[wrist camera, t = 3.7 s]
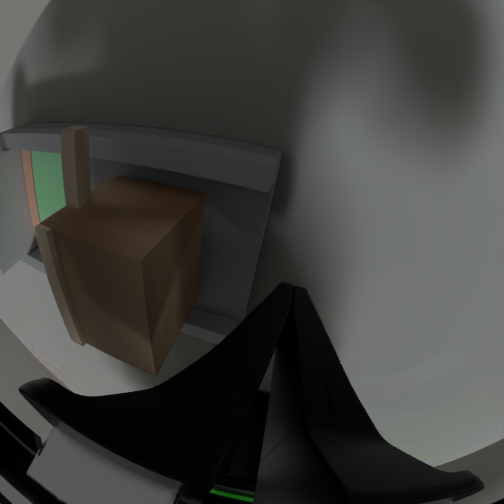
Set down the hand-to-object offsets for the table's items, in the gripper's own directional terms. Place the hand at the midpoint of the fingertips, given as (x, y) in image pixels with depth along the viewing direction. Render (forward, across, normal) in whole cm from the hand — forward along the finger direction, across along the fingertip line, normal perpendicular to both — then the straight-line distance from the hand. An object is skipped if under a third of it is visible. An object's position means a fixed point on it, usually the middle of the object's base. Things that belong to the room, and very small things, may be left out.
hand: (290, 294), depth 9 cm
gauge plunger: (+1, +5, -1) cm, 5 cm away
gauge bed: (+2, +8, 0) cm, 9 cm away
